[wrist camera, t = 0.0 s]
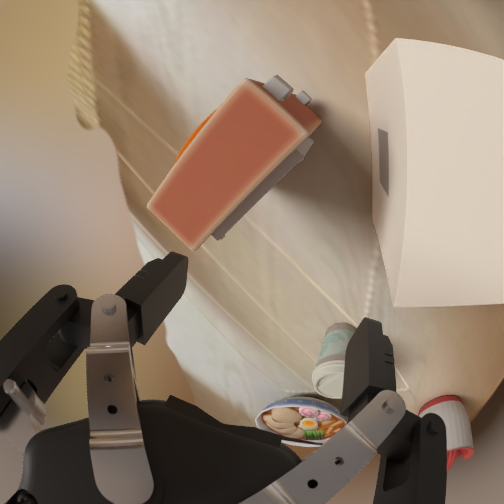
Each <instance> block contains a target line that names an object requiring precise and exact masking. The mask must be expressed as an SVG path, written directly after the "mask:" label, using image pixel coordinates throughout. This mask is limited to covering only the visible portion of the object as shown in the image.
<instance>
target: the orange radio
mask: <svg viewBox="0 0 504 504" xmlns="http://www.w3.org/2000/svg"><path fill="white" fill-rule="evenodd" d="M292 92H293V88H292V87H291V86H290V85H289V84H288V83H286V82H285V81H284V80H283V79H282V78H281V77H279V76H278V75H275V76H273V77H272V78H270V79H269V80H268V81H267V83H266V84H264V83H261V82H258V81H254V80H251V79H248V78H245V79H243V80H242V82H241V83H240V84H239V85H238V86H237V87H236V88H235V89H234V91H233V92H232V93H231V94H230V95H229V96H228V97H227V99H226V100H225V101H224V102H223V103H222V104H221V106H220V107H219V108H218V109H216V110H215V111H214V112H213V113H212V114H211V115H210V116H209V117H208V118H207V119H206V120H204V121H203V122H202V123H201V124H200V126H199V127H198V128H197V129H196V130H195V131H194V133H193V134H192V135H191V136H190V137H189V138H188V140H187V141H186V143H185V144H184V146H183V147H182V149H181V150H180V152H179V154H178V156H177V158H176V161H175V163H174V166H173V167H172V169H171V170H170V172H169V173H168V174H167V176H166V177H165V179H164V180H163V182H162V183H161V185H160V186H159V188H158V189H157V190H156V192H155V193H154V195H153V196H152V198H151V200H150V201H149V203H148V204H147V208H148V209H149V210H150V211H151V212H152V213H153V214H154V215H155V216H156V217H157V218H158V219H159V220H160V221H161V222H162V223H163V224H164V225H165V226H166V227H167V228H168V229H169V230H171V231H172V232H173V233H174V234H175V235H176V236H177V237H178V238H179V239H180V240H181V241H182V242H183V243H184V244H185V245H186V246H187V247H188V248H189V249H190V250H192V251H195V250H197V249H198V248H199V247H200V246H201V244H202V243H203V242H204V241H205V240H206V239H207V238H208V237H209V236H210V235H212V236H213V237H214V238H215V239H217V240H220V239H223V238H224V236H225V234H226V233H227V232H228V231H229V230H230V229H231V228H232V227H233V226H234V225H235V224H236V223H237V222H238V221H239V220H240V219H241V218H242V217H243V216H244V215H245V214H246V213H247V212H248V211H249V210H250V209H251V208H252V207H253V206H254V205H255V204H256V203H257V202H258V201H259V200H260V199H261V198H262V197H263V196H264V195H265V194H266V193H267V192H268V191H269V190H270V189H271V188H272V187H273V186H274V185H275V184H277V183H278V182H279V181H280V180H281V179H282V178H283V177H284V176H285V175H286V174H287V173H288V172H289V171H290V170H291V169H292V168H293V167H294V166H295V165H296V164H297V163H299V162H300V163H301V162H302V161H303V160H304V159H305V158H304V157H305V155H306V153H307V152H308V150H309V149H310V147H311V146H312V145H313V144H314V143H313V142H314V141H313V140H312V139H311V138H310V137H309V136H310V135H311V134H312V133H313V132H314V130H315V129H316V128H317V127H318V126H319V125H320V124H321V123H322V120H321V119H320V118H319V117H318V116H317V115H316V114H315V113H314V112H313V111H312V110H311V109H310V108H309V107H308V106H307V105H306V104H308V103H310V100H311V99H312V98H311V97H310V96H309V95H308V94H306V93H305V92H304V91H303V90H302V91H301V92H299V93H298V94H297V95H294V94H292Z"/></svg>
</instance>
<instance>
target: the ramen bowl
mask: <svg viewBox="0 0 504 504" xmlns="http://www.w3.org/2000/svg"><path fill="white" fill-rule="evenodd" d="M255 421H256V424H257V427H258V428H259V429H262V430H265V431H269V432H272V433H276V434H279V435H283V437H282V440H281V442H283V443H286V444H290V445H295V446H305V447H318V446H321V445H322V444H324V443H325V442H326V441H327V440H328V439H330V438H331V437H332V436H333V435H334V434H335V433H337V432H338V431H339V430H340V429H341V428H342V427H343V426H344V425H346V424H347V422H346V420H345V418H344V417H343V415H340V411H339V410H338V409H337V408H336V407H334V406H332V405H331V404H329V403H328V402H325V401H323V400H319V399H316V398H313V397H301V396H299V397H290V398H284V399H281V400H279V401H277V402H274V403H272V404H270V405H269V406H267V407H266V408H265V409H264V410H262V411H261V412H260V414H259V415H258V416H257V417H256V419H255Z"/></svg>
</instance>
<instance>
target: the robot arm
mask: <svg viewBox="0 0 504 504" xmlns="http://www.w3.org/2000/svg"><path fill="white" fill-rule="evenodd" d="M187 269H188V257H186V256H183V255H181V254H178V253H175V252H170V253H169V254H168V255H167V256H166V257H165V258H164V259H163V260H162V259H159V258H157V259H155V260H153V261H150V262H148V263H147V264H146V265H145V266H144V267H143V268H142V269H141V271H138V272H137V273H136V275H135V276H133V277H132V278H131V279H130V280H129V281H128V282H127V283H126V284H125V285H124V286H123V287H122V288H121V289H120V290H119V291H118V292H117V293H116V294H115V295H113V294H107V295H102V296H100V297H98V298H97V299H96V300H95V301H94V300H89V299H83V298H79V297H77V293H76V290H75V289H74V288H73V287H72V286H70V285H58V286H56V287H54V288H52V289H51V290H50V291H49V292H48V293H46V294H45V295H44V296H43V297H42V298H41V299H40V300H39V301H38V302H37V303H36V304H35V305H34V306H33V307H32V308H31V309H30V310H29V311H28V312H27V313H26V314H25V315H24V316H23V317H22V318H21V319H20V320H19V321H18V323H16V325H15V326H14V327H13V328H12V329H11V330H10V331H9V332H8V333H7V334H6V335H5V336H4V337H3V339H2V340H1V341H0V435H1V436H3V437H4V438H5V439H6V440H7V441H8V442H9V443H10V444H11V445H12V446H13V447H14V448H15V449H17V450H18V451H19V452H20V453H21V454H22V455H23V456H24V462H23V474H22V479H21V483H20V486H19V488H18V490H17V492H16V493H15V494H14V495H13V496H12V497H11V498H10V499H9V500H8V501H7V502H6V503H4V504H325V503H327V502H328V501H329V500H330V499H331V498H332V497H334V496H335V495H336V494H337V493H338V492H339V491H340V490H341V489H342V488H343V487H345V485H347V483H349V482H350V481H351V480H352V479H353V478H354V477H355V476H356V475H357V474H358V473H359V472H360V471H361V469H363V468H364V467H365V466H366V465H367V464H368V462H369V461H370V460H371V459H372V458H373V457H374V456H375V455H376V453H378V454H380V455H381V458H380V466H379V472H378V479H377V485H376V490H375V496H374V501H373V504H445V496H446V479H447V436H446V425H445V423H444V421H443V419H442V418H441V417H440V416H439V415H437V414H435V413H427V414H425V415H424V416H423V417H422V418H421V417H419V416H417V415H415V414H413V413H411V412H409V411H408V410H406V406H405V402H404V400H403V399H402V397H401V396H400V395H399V394H398V393H396V378H395V366H394V357H393V346H392V344H391V342H390V340H389V338H388V336H385V335H383V332H382V324H381V322H379V321H376V320H373V319H369V318H366V317H365V318H364V319H363V320H362V322H361V323H360V325H359V326H358V328H357V330H356V331H355V333H354V334H353V336H352V338H351V339H350V341H349V343H348V345H347V348H346V353H345V367H344V380H343V392H342V402H341V412H340V415H343V416H348V417H349V418H348V423H347V424H346V425H344V426H343V427H342V428H341V429H340V430H339V431H338V432H337V433H335V434H334V435H333V436H332V437H331V438H330V439H328V440H327V441H326V442H325V443H324V444H322V445H321V446H320V447H319V448H317V449H316V450H315V451H314V452H312V453H311V454H310V455H308V456H307V457H306V458H304V459H303V460H301V459H300V458H299V456H298V455H297V454H296V453H295V452H294V451H292V450H291V449H290V448H289V447H287V446H286V445H284V444H283V443H281V440H282V437H283V435H279V434H276V433H272V432H269V431H265V430H262V429H259V428H255V427H246V426H236V425H227V424H223V423H221V422H219V421H218V420H216V419H215V418H213V417H212V416H210V415H209V414H207V413H206V412H204V411H203V410H201V409H200V408H199V407H197V406H195V405H192V404H190V403H188V402H185V401H183V400H181V399H179V398H176V397H174V396H172V395H170V396H169V398H168V400H167V401H164V400H140V395H139V390H138V385H137V378H136V372H135V364H134V356H133V349H132V347H133V346H134V344H135V343H136V342H139V343H141V344H143V345H145V344H146V343H147V341H148V340H149V339H150V338H151V336H152V335H153V334H154V332H155V331H156V330H157V328H158V327H159V326H160V324H161V323H162V322H163V320H164V319H165V318H166V316H167V315H168V314H169V312H170V311H171V310H172V308H173V307H174V306H175V305H176V303H177V302H178V301H179V299H180V298H181V297H182V295H183V293H184V291H185V287H186V281H187ZM55 334H56V335H55ZM49 341H50V342H49ZM84 349H87V350H86V373H87V375H86V376H87V399H88V413H89V417H88V418H85V419H82V420H78V421H75V422H71V423H68V424H64V425H60V426H57V427H53V428H49V429H45V430H42V425H43V424H44V423H45V416H46V408H45V405H44V404H45V402H46V401H47V399H48V398H49V397H50V395H51V394H52V392H53V391H54V389H55V388H56V387H57V385H58V384H59V383H60V381H61V380H62V378H63V377H64V376H65V374H66V373H67V372H68V370H69V369H70V368H71V366H72V365H73V364H74V362H75V361H76V359H77V358H78V357H79V356H80V354H81V353H82V352H83V350H84Z"/></svg>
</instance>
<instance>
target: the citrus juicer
mask: <svg viewBox="0 0 504 504" xmlns="http://www.w3.org/2000/svg"><path fill="white" fill-rule="evenodd" d="M427 413H435V414H437V415H439V416H440V417H441V418H442V419H443V421H444V423H445V425H446V436H447V471H448V470H449V468H450V467H451V466H452V464H453V463H454V461H455V459H456V457H457V456H459V455H462V457H463V458H464V459H468V458H470V457H471V456H472V455H473V454H474V449H473V443H472V434H471V427H470V421H469V417H468V414H467V411H466V409H465V408H464V406H463V403H462V402H461V400H460V399H459V398H458V397H456V396H441V397H439V398H436V399H434V400H432V401H430V402H428V403H427V404H425V405H424V406H423V407H422V408H421V409H420V411H419V414H418V416H419V417H421V418H422V417H423V416H424V415H425V414H427Z"/></svg>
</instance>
